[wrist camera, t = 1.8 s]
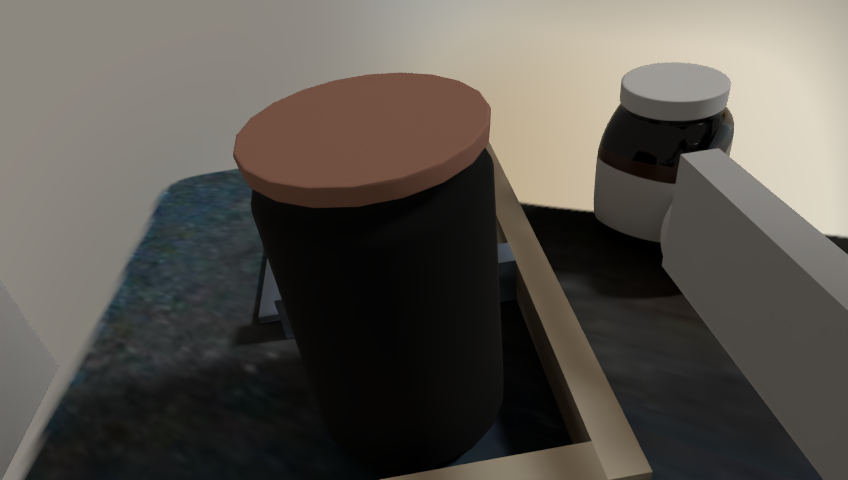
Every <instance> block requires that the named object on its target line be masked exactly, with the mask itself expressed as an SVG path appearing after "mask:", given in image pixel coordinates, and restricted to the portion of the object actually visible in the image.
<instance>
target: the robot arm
mask: <svg viewBox="0 0 848 480" xmlns="http://www.w3.org/2000/svg"><path fill="white" fill-rule="evenodd" d="M662 267H663V268H664V269H665V271H666V272H667V273H668V275H669V276H670V277H671V279H672V280H673V281H674V283H675V284H676V285H677V286H678V288H679V289H680V290H681V292H682V293H683V294H684V296H685V297H686V298H687V300H688V301H689V302H690V304H691V305H692V306H693V308H694V309H695V310H696V312H697V313H698V314H699V316H700V317H701V318H702V320H703V321H704V322H705V324H706V325H707V326H708V328H709V329H710V330H711V332H712V333H713V334H714V335H715V337H716V338H717V339H718V341H719V342H720V343H721V345H722V346H723V347H724V349H725V350H726V351H727V353H728V354H729V355H730V357H731V358H732V359H733V361H734V362H735V363H736V365H737V366H738V367H739V369H740V370H741V371H742V373H743V374H744V375H745V377H746V378H747V379H748V381H749V382H750V383H751V384H752V386H753V387H754V388H755V390H756V391H757V392H758V394H759V395H760V396H761V398H762V399H763V400H764V402H765V403H766V404H767V406H768V407H769V408H770V410H771V411H772V412H773V414H774V415H775V416H776V418H777V419H778V420H779V422H780V423H781V424H782V426H783V427H784V428H785V430H786V431H787V432H788V433H789V435H790V436H791V437H792V439H793V440H794V441H795V443H796V444H797V445H798V447H799V448H800V449H801V451H802V452H803V453H804V455H805V456H806V457H807V459H808V460H809V461H810V463H811V464H812V465H813V467H814V468H815V469H816V471H817V472H818V473H819V475H820V476H821V477H822V479H823V480H848V255H847V254H846V253H845V252H844V251H842V250H841V249H840V248H839V247H838V246H836V245H835V244H834V243H833V242H832V241H830V240H829V239H828V238H827V237H826V236H824V235H823V234H822V233H821V232H819V231H818V230H817V229H816V228H815V227H813V226H812V225H811V224H810V223H808V222H807V221H806V220H805V219H804V218H803V217H801V216H800V215H799V214H798V213H797V212H795V211H794V210H793V209H792V208H790V207H789V206H788V205H787V204H786V203H784V202H783V201H782V200H780V199H779V198H778V197H777V196H776V195H774V194H773V193H772V192H771V191H770V190H769V189H767V188H766V187H765V186H764V185H763V184H761V183H760V182H759V181H758V180H757V179H755V178H754V177H753V176H752V175H751V174H749V173H748V172H747V171H746V170H744V169H743V168H742V167H741V166H740V165H738V164H737V163H736V162H734V160H732V159H731V158H730V157H729V156H728V155H726V154H725V153H724V152H723V151H722V150H720V149H719V148H717V149H711V150H704V151H698V152H692V153H685V154H681V155H680V161H679V166H678V172H677V178H676V184H675V190H674V196H673V202H672V208H671V214H670V219H669V225H668V231H667V237H666V243H665V249H664V255H663V261H662ZM58 367H59V365H58V364H57V363H56V361H55V360H54V358H53V357H52V356H51V354H50V352H49V351H48V350H47V348H46V347H45V345H44V344H43V342H42V341H41V339H40V338H39V336H38V335H37V334H36V332H35V331H34V329H33V328H32V326H31V325H30V323H29V322H28V320H27V319H26V318H25V316H24V315H23V313H22V312H21V310H20V309H19V307H18V306H17V304H16V303H15V302H14V300H13V299H12V297H11V296H10V294H9V293H8V292H7V290H6V289H5V287H4V286H3V284H2V283H1V281H0V480H2V478H3V476H4V474H5V472H6V470H7V468H8V466H9V464H10V462H11V460H12V458H13V456H14V454H15V452H16V450H17V448H18V446H19V444H20V442H21V440H22V439H23V436H24V435H25V432H26V430H27V429H28V427H29V425H30V423H31V421H32V419H33V417H34V415H35V413H36V411H37V409H38V407H39V405H40V403H41V401H42V399H43V397H44V395H45V393H46V391H47V389H48V387H49V385H50V383H51V381H52V379H53V377H54V375H55V373H56V371H57V369H58Z"/></svg>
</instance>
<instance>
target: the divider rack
mask: <svg viewBox="0 0 848 480" xmlns="http://www.w3.org/2000/svg"><path fill="white" fill-rule="evenodd" d="M486 149H487V151H488V152H489V154H490V156H491V157H492V161H493V164H494V180H495V201H496V223H497V244H498V266H499V288H500V302H505V301H511V300H517V302H518V305H519V307H520V310H521V313H522V315H523V318H524V320H525V323H526V325H527V328H528V331H529V333H530V336H531V338H532V341H533V343H534V346H535V349H536V351H537V354H538V356H539V359H540V361H541V364H542V367H543V369H544V372H545V374H546V377H547V379H548V382H549V385H550V387H551V390H552V392H553V395H554V397H555V400H556V403H557V405H558V408H559V410H560V413H561V416H562V418H563V421H564V423H565V426H566V428H567V431H568V434H569V436H570V439H571V441H572V444H573V445H568V446H562V447H557V448H551V449H546V450H540V451H535V452H529V453H524V454H518V455H513V456H507V457H502V458H496V459H491V460H485V461H480V462H474V463H469V464H463V465H458V466H452V467H447V468H441V469H436V470H430V471H425V472H419V473H414V474H408V475H403V476H397V477H392V478H386V479H381V480H651V477H652V470H651V468H650V466H649V464H648V462H647V460H646V458H645V456H644V454H643V452H642V450H641V448H640V446H639V443H638V441H637V439H636V437H635V435H634V433H633V431H632V429H631V427H630V425H629V423H628V421H627V419H626V417H625V415H624V413H623V411H622V409H621V407H620V405H619V403H618V401H617V399H616V397H615V395H614V393H613V391H612V389H611V387H610V385H609V383H608V381H607V379H606V377H605V375H604V373H603V371H602V369H601V367H600V365H599V363H598V361H597V359H596V357H595V355H594V353H593V351H592V349H591V347H590V345H589V343H588V341H587V339H586V337H585V335H584V332H583V330H582V328H581V326H580V324H579V322H578V320H577V318H576V316H575V314H574V312H573V310H572V308H571V306H570V304H569V302H568V300H567V298H566V296H565V294H564V292H563V290H562V288H561V286H560V284H559V282H558V280H557V278H556V276H555V274H554V272H553V270H552V268H551V266H550V264H549V262H548V260H547V258H546V256H545V254H544V252H543V250H542V248H541V246H540V244H539V242H538V240H537V238H536V236H535V234H534V232H533V230H532V228H531V226H530V223H529V221H528V219H527V217H526V215H525V213H524V211H523V209H522V207H521V205H520V203H519V201H518V199H517V197H516V195H515V193H514V191H513V189H512V187H511V185H510V183H509V181H508V179H507V177H506V176H505V173H504V171H503V169H502V167H501V165H500V163H499V161H498V159H497V157H496V155H495V153H494V151H493V149H492V147H491V145H490V143H489V142H488V144H487V145H486ZM258 318H259V320H260V323H261V324H262V323H268V322H274V321H279V320H281V323H282V326H283V329H284V331H285V334H286V337H287V339H289V338H295V337H294V334H293V331H292V328H291V325H290V322H289V320H288V317H287V314H286V311H285V308H284V305H283V302H282V299H281V296H280V293H279V290H278V287H277V284H276V281H275V278H274V276H273V273H272V270H271V267H270V264H269V261H268V258H267V264H266V270H265V277H264V284H263V291H262V297H261V304H260V311H259V317H258Z"/></svg>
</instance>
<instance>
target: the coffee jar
mask: <svg viewBox="0 0 848 480" xmlns="http://www.w3.org/2000/svg"><path fill="white" fill-rule="evenodd" d="M490 116H491V108H490V106H489V104H488V103H487V102H486V101H485V99H484V98H483V96H482V95H481V93H480V92H479V91H477V90H475V89H473V88H472V87H470V86H468V85H466V84H464V83H462V82H460V81H457V80H453V79H448V78H444V77H440V76H435V75H428V74H413V73H388V74H372V75H364V76H358V77H352V78H346V79H341V80H335V81H332V82H328V83H325V84H321V85H318V86H315V87H311V88H308V89H305V90H302V91H299V92H297V93H295V94H293V95H290V96H288V97H286V98H284V99H281V100H279V101H277V102H275V103H273V104H271V105H270V106H268V107H267V108H265V109H264V110H263V111H261V112H259V113H258V114H256V115H255V116H254V117H252V118H251V119H250V120H249V121H248V122H247V123H246V125H245V126H244V127H243V129H241V131H240V132H239V133H238V134H237V135H236V141H235V147H234V152H233V157H234V159H235V161H236V163H237V166H238V168H239V170H240V172H241V173H242V175H243V177H244V178H245V180H246V181H247V183H248V184H249V186H250V188H252V189H253V190H252V199H251V209H252V214H253V217H254V220H255V223H256V226H257V229H258V232H259V234H260V237H261V240H262V243H263V246H264V249H265V252H266V255H267V258H268V261H269V264H270V267H271V270H272V273H273V276H274V278H275V281H276V284H277V287H278V290H279V293H280V296H281V299H282V302H283V305H284V308H285V311H286V314H287V317H288V320H289V322H290V325H291V328H292V331H293V334H294V337H295V340H296V343H297V346H298V349H299V352H300V355H301V358H302V361H303V363H304V366H305V369H306V372H307V375H308V378H309V381H310V384H311V387H312V390H313V393H314V396H315V399H316V402H317V405H318V407H319V410H320V413H321V416H322V419H323V421H324V423H325V425H326V427H327V429H328V431H329V433H330V435H331V437H332V439H333V440H334V441H335V442H336V443H337V444H338V445H340V446H341V447H342V448H343V449H344V450H345V451H347V452H348V453H349V454H350V455H351V456H352V457H354V458H355V459H357V460H359V461H362V462H365V463H367V464H370V465H373V466H375V467H378V468H380V469H383V470H397V471H415V472H416V471H420V470H424V469H428V468H433V467H437V466H441V465H444V464H446V463H447V462H449V461H451V460H453V459H454V458H456V457H458V456H460V455H461V454H463V453H465V452H467V451H468V450H470V449H472V447H473V446H474V445H475V444H476V443H477V442H478V441H479V440H480V439H481V438H482V437H483V436H484V435H485V434H486V432H487V431H488V430H489V429H490V428H491V427H492V425H493V423H494V421H495V418H496V416H497V414H498V411H499V409H500V407H501V404H502V402H503V383H504V374H503V352H502V331H501V309H500V288H499V266H498V244H497V223H496V201H495V180H494V164H493V161H492V157H491V156H490V154H489V152H488V151H487V149H486V145H487V144H488V142H489V132H490Z"/></svg>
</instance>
